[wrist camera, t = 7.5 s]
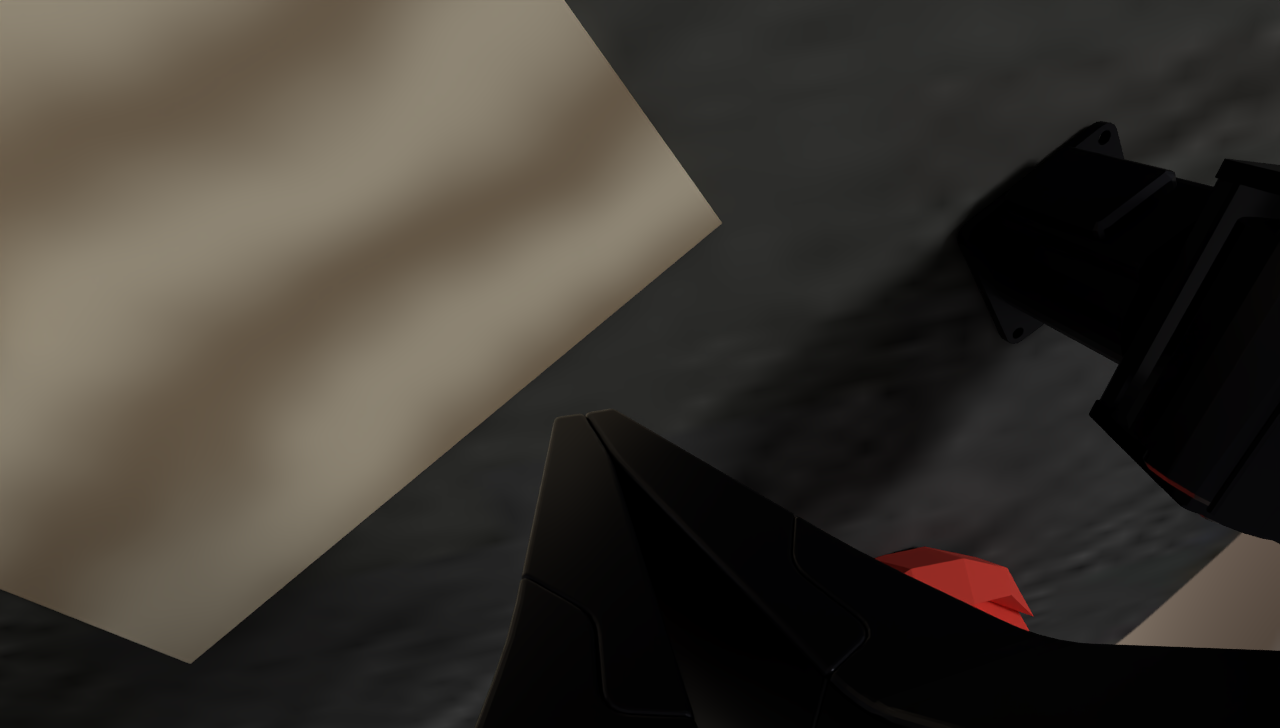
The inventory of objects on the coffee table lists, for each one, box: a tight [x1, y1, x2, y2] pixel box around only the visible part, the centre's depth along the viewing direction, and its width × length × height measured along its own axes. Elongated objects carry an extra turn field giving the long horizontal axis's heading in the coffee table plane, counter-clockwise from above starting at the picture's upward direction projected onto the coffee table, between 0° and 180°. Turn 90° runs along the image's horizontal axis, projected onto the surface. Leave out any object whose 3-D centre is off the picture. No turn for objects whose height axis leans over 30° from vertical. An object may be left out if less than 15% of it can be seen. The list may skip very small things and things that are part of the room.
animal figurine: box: [874, 547, 1033, 631], centre depth 33 cm, size 12×15×5 cm
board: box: [0, 0, 722, 664], centre depth 16 cm, size 25×25×1 cm
